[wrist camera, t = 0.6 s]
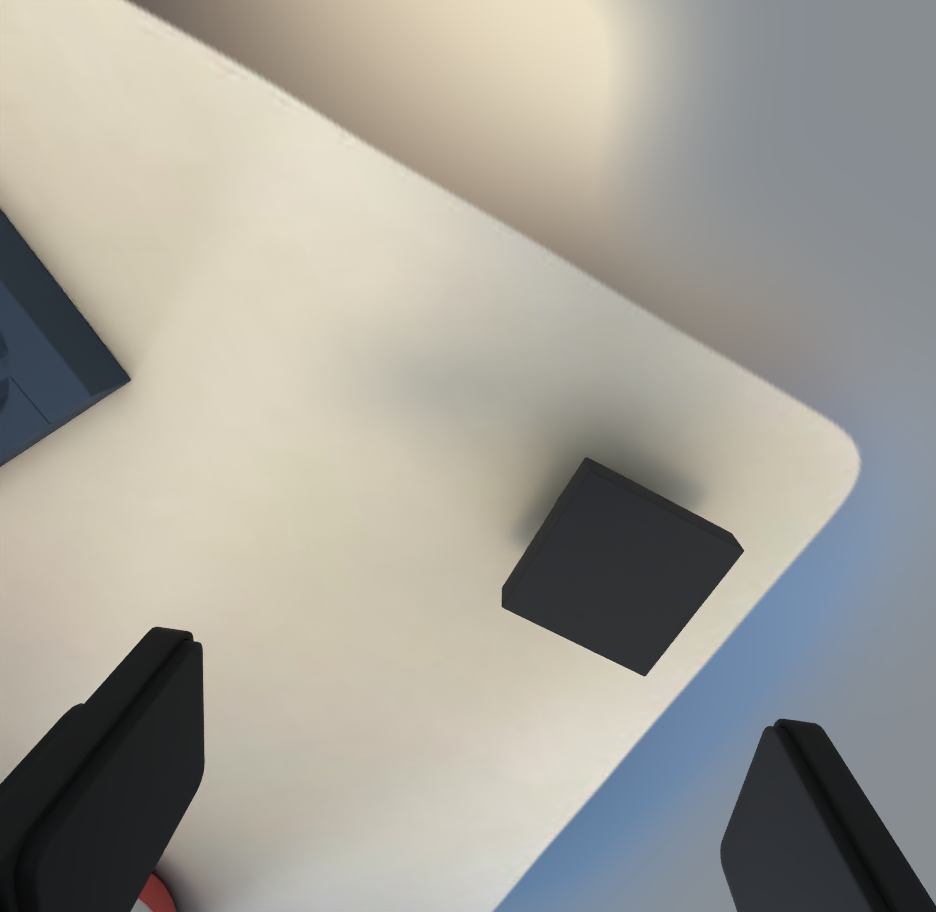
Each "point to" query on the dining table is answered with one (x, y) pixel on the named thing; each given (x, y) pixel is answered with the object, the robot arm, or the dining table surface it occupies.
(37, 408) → the base pad
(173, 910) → the citrus juicer
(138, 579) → the dining table surface
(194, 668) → the robot arm
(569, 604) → the black pad
